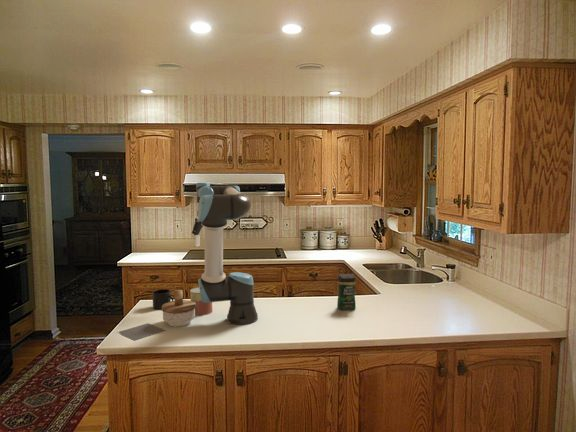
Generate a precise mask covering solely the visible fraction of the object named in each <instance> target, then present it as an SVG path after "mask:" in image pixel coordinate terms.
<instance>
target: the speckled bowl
mask: <svg viewBox="0 0 576 432" xmlns="http://www.w3.org/2000/svg"><path fill="white" fill-rule="evenodd" d="M195 317H196V315H195V308H194V309H193V310H191V311H187V312H182V313H167V312H163V311H162V320H163V322H165V323H167V324H168V325H169V326H171V327H183V326H186V325H187V326H188V325H189V324H190V323H191V322H192V320H193V319H195Z"/></svg>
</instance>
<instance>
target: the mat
mask: <svg viewBox="0 0 576 432" xmlns="http://www.w3.org/2000/svg"><path fill="white" fill-rule="evenodd" d="M166 331H167V330H166V329H165V328H162V327H158V326H156V325H153V324H151V323H149V322H148V323H147V322H146V323H144V324H141V325H137V326H134V327H133V326H132V327H131V328H127V329H124V330H120V331H118V332H119V333H120V334H121V336H123V337H125V338H127V339H130V340H131V341H134V342H135V341H139V340H142V339H145V338H147V337H150V336H154V335H157V334H160V333H164V332H166ZM120 334H119V335H120Z"/></svg>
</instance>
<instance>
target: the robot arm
mask: <svg viewBox="0 0 576 432" xmlns="http://www.w3.org/2000/svg"><path fill="white" fill-rule="evenodd" d="M195 187H196V188H195V190H196V191H195V192H196V210H197V211H196V213H197V214H196V217H194V218H195V219H194V223H193V228H192V230H191V233H192V235H194V240H195V241H194V242H195V247H200V246H201V238H200V237H201V235H200V232H201V230H202V228H203V227H204V271H203V273H202V274H201V277H200V278H198V279H197V281H198V288H199V289H200V295H201V300H202V302H204V303H208V302H210V303H212V304H213V303H218V302H226V301H229V302H230V305H229V309H228V313H227V315H226V321H227V322H228V323H230V324H233V325H248V324H252V323H255V322H256V321H258V312H257V310H256V306H255V301H254V299H255V298H254V285H255V284H254V277H253V275H251V274H249V273H245V272H239V271H236V272H235V271H234V272H230V273H229V274H228V276H227V275H226V274H227V273H225V272H224V231H225V230H224V228H225V227H226V226H227V225H228V221H235V220H240V219H241V218H243V217H245V216H246V215H248V213H249V212H250V210H251V207H252V202H251V199H250V198H249V196H247V195H246V194H245V193H241V190H240V186H238V185H211V184H210V182H197V183H196V184H195Z"/></svg>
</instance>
